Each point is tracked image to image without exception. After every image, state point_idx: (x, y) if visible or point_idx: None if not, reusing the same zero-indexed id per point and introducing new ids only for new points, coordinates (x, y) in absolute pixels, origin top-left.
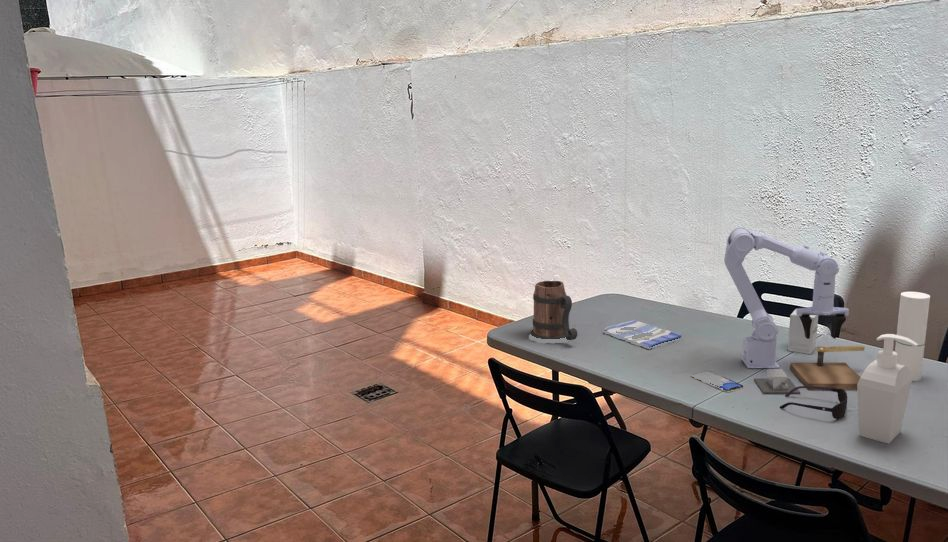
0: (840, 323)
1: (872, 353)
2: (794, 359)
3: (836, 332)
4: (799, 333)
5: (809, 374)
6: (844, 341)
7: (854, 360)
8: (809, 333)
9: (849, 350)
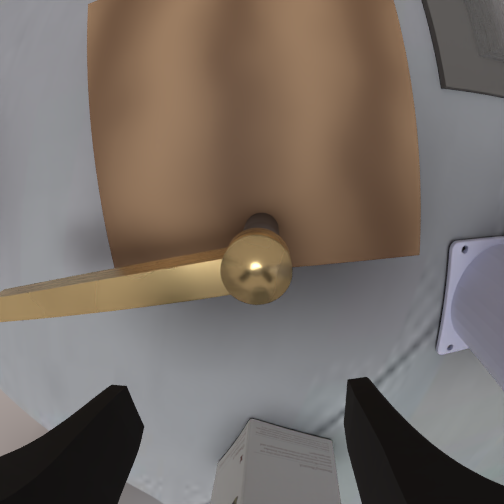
0: (2, 469)
1: (50, 405)
2: (341, 365)
3: (82, 416)
4: (301, 500)
5: (360, 69)
6: (127, 481)
7: (92, 360)
8: (370, 411)
9: (59, 279)
